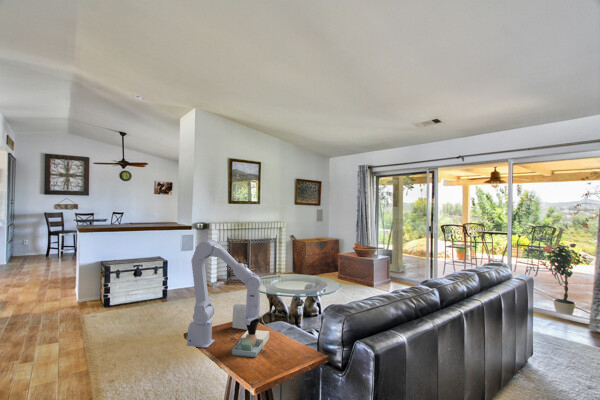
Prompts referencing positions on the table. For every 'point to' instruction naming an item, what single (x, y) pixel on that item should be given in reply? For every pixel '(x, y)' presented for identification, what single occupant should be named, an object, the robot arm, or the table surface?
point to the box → (239, 352)
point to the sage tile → (246, 344)
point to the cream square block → (259, 337)
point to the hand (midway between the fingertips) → (251, 336)
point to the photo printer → (239, 316)
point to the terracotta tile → (252, 337)
